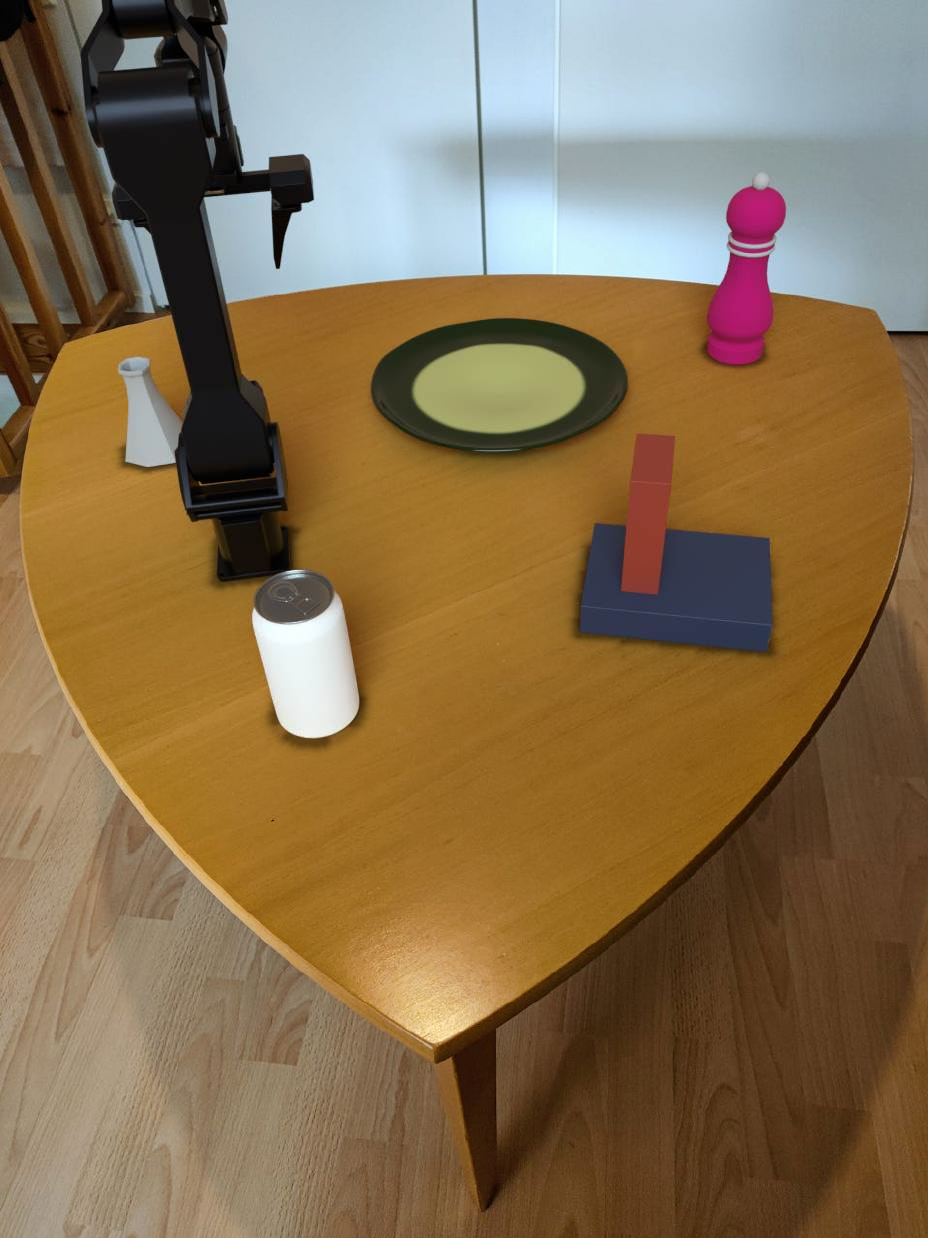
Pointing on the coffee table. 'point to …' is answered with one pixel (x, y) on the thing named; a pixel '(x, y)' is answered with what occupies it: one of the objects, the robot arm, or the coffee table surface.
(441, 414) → the plate
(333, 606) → the can
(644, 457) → the red rectangular block
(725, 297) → the pepper mill
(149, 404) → the flask
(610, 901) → the coffee table surface
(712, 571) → the navy hardcover
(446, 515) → the coffee table surface
